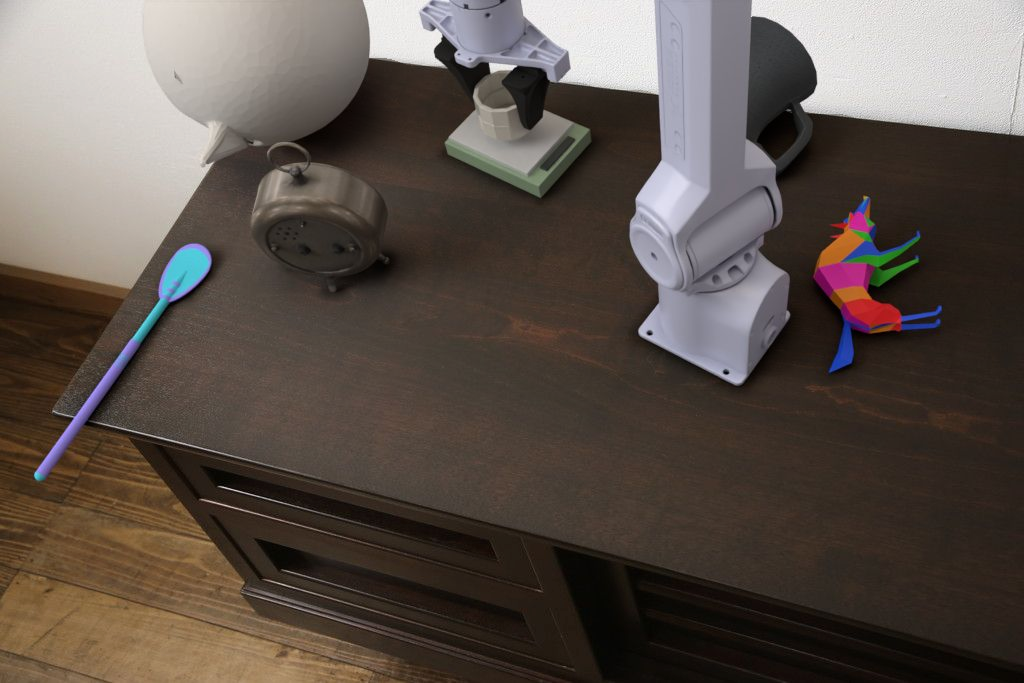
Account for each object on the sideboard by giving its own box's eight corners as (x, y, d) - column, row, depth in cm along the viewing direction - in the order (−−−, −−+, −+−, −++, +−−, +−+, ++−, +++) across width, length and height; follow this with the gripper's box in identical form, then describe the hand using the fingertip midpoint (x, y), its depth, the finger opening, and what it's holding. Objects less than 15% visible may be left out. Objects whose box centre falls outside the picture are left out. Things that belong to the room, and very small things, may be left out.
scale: (591, 141, 100) (589, 125, 98) (540, 198, 97) (537, 182, 95) (498, 101, 105) (495, 85, 103) (447, 154, 102) (443, 138, 100)
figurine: (904, 173, 86) (789, 198, 88) (952, 338, 79) (827, 361, 81) (903, 201, 89) (793, 225, 91) (949, 362, 82) (829, 384, 84)
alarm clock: (404, 248, 96) (356, 115, 83) (394, 297, 93) (343, 167, 80) (287, 249, 98) (222, 120, 85) (274, 297, 95) (204, 171, 82)
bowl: (549, 115, 98) (543, 82, 95) (514, 151, 96) (508, 119, 93) (504, 95, 101) (497, 63, 97) (469, 131, 99) (461, 99, 95)
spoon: (185, 245, 100) (181, 237, 99) (222, 258, 99) (218, 250, 98) (19, 474, 88) (12, 467, 87) (59, 491, 87) (53, 484, 86)
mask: (246, -32, 113) (77, -41, 97) (361, -121, 102) (192, -148, 86) (319, 166, 113) (164, 188, 97) (442, 98, 102) (288, 111, 86)
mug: (724, 51, 101) (644, 128, 98) (751, -3, 92) (663, 80, 90) (821, 136, 99) (741, 217, 97) (857, 89, 91) (771, 176, 88)
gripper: (383, -11, 88) (419, 111, 99) (524, 45, 82) (546, 169, 93) (437, -60, 91) (466, 64, 102) (578, -10, 84) (592, 117, 95)
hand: (507, 111), depth 97 cm, fingers closed on bowl, 5 cm apart
